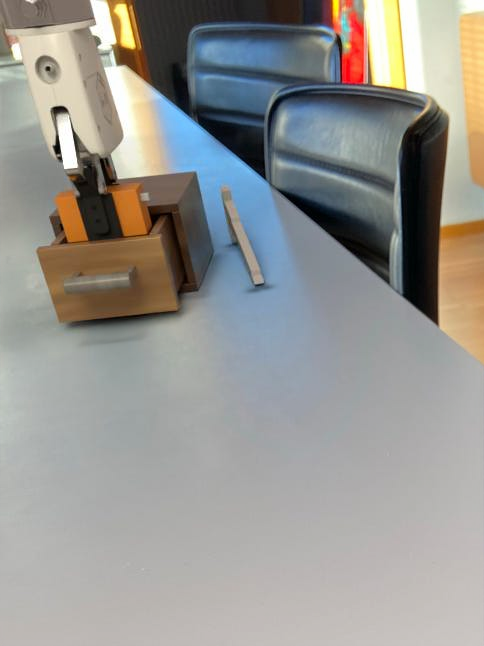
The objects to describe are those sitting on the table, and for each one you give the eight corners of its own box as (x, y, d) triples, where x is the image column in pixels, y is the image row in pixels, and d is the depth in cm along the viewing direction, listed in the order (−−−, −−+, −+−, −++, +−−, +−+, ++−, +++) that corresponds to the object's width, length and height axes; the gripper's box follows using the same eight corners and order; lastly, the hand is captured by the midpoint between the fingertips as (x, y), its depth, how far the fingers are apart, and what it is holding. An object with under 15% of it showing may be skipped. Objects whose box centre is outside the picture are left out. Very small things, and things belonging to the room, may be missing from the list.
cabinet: (198, 290, 105) (177, 203, 100) (76, 303, 105) (48, 216, 100) (214, 251, 117) (196, 171, 112) (104, 262, 116) (81, 182, 111)
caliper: (229, 240, 120) (217, 183, 117) (239, 238, 121) (227, 182, 117) (255, 287, 105) (242, 224, 101) (265, 286, 105) (253, 222, 101)
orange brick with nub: (68, 243, 96) (54, 198, 94) (75, 234, 99) (61, 190, 96) (155, 233, 96) (143, 188, 94) (160, 225, 99) (149, 181, 96)
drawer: (172, 325, 94) (152, 249, 90) (48, 338, 94) (23, 263, 90) (196, 269, 108) (180, 201, 104) (88, 280, 108) (68, 213, 104)
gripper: (68, 14, 80) (134, 254, 91) (109, -2, 93) (162, 209, 104) (-27, 24, 80) (50, 263, 91) (27, 7, 93) (89, 217, 104)
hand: (109, 232), depth 97 cm, fingers closed on orange brick with nub, 3 cm apart
